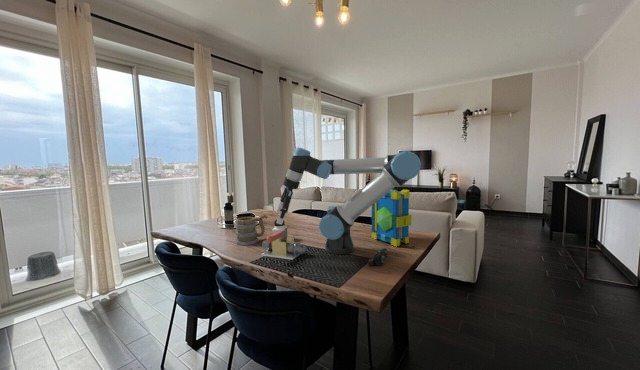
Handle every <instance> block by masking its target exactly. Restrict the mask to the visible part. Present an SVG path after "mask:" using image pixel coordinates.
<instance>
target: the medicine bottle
mask: <svg viewBox="0 0 640 370" xmlns="http://www.w3.org/2000/svg"><path fill="white" fill-rule="evenodd" d="M277 220H278V219H276V220H274V221H273V222H274V223H273V224H274V227H273V228H272V229H271V234H273V233H276V232H278V231H279V230H281V229H286V230H287V231H288V227H287V226H286V225H285V219H284V220H283V223H282V225H281V224H277V223H276V222H277Z"/></svg>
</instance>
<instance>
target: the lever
mask: <svg viewBox="0 0 640 370" xmlns="http://www.w3.org/2000/svg"><path fill="white" fill-rule="evenodd" d="M287 238H288V229H287V230H286V229H281V230H279V231H278V232H276V233H273V234H272V233H271V234H269V235H267V236H266V241H267V242H268V243H270V242H273V241H275V240H277V239H279V240H286V239H287Z"/></svg>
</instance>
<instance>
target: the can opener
mask: <svg viewBox="0 0 640 370" xmlns="http://www.w3.org/2000/svg"><path fill="white" fill-rule="evenodd" d="M387 251H388V249H387V248H385V247H384V248H381V249H380V250H377V252H376V253H375V255H374V256H373V257H371V258H369V259H368V262H367V263H368V265H371V266H375V265H376V266H382V265H384V264H385V263H384V259H386V258H387V257H388V255H389V254H388V253H386V252H387Z"/></svg>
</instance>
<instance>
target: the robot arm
mask: <svg viewBox="0 0 640 370" xmlns="http://www.w3.org/2000/svg"><path fill="white" fill-rule="evenodd" d="M421 167H422V163H421V159H420V158H419V156H418V155H417V154H415V153H414V152H413V151H411V150H410V151H409V150H403V151H400V152H398V153H396V154H387V155H385V156H384V157H365V158H364V157H363V158H343V159H319V158H316V157H313V156H311V151H310V150H307V149H305V148H302V147H299V146H298V147H296V148H295V149H294V152H293V154H292V157H291V161H290V163H289V166H288V169H287V170H286V175H285V177H284V180H283V183H282V184H283V185H284V186H285V187H284V190H283V192H282V195H281V197H280V201H279V204H278V206H277V208H276V212H275V213H276V214H277V215H278V217H277V219H276V220H277V222H276V223H277V224H281V225H282V223H283V220H284V221H285V217H286V214H287V213H288V212H289V208H290V207H289V206H290V204H291V201H292V197H293V195H294V192H293V190H298V189H299V186H300V184H301V183H300V181H302V178H303V176H304V172H306V173H309V174H311V175H313V176H316V177H318V178H320V179H323V180H326V179H328V178H329V177H330V176H331V175H353V174H354V175H357V174H359V175H360V174H363V175H365V174H378V175H377V176H376V177H374V178H373V179H372V180H370V181H369V182H368V183H367V184H366V185H365V186H363V187H362V188H361V189H360V190H359V191H357V192H356V193H355V194H354V195H353V196H351V197H350V199H348V200H346V201H345V203H343V204H342V205H338V204H337V205H330V206H327V210H326V211H327V213H326V215H324V216H322V217H321V219H320V221H319V225H318V229H319V232H320V233H321V235H322V236H323V237H324V238H325V239H326V241H325V246H324V249H325V252H326V253H329V254H334V255H346V254H350V253H353V252H354V250H355V246H354V242H353V239H352V236H351V228H352V227H353V226H354V225H355V220H356V219H358V218H359V217H360V216H361V215H362V214H364V212H366V211H367V210H368V209H369V208H372V205H373V204H374V203H376V202H377V201H378V200H379V199H381V198H382V197H383V196H384V195H385V194H387V193H388V192H389V191H390V190H394V188H395V187H398V188H399V187H403V186H404V185H405V183H407V182H409V180H412V179H414V178H415V177H416V176H418V174H419V173H420V170H421Z"/></svg>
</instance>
